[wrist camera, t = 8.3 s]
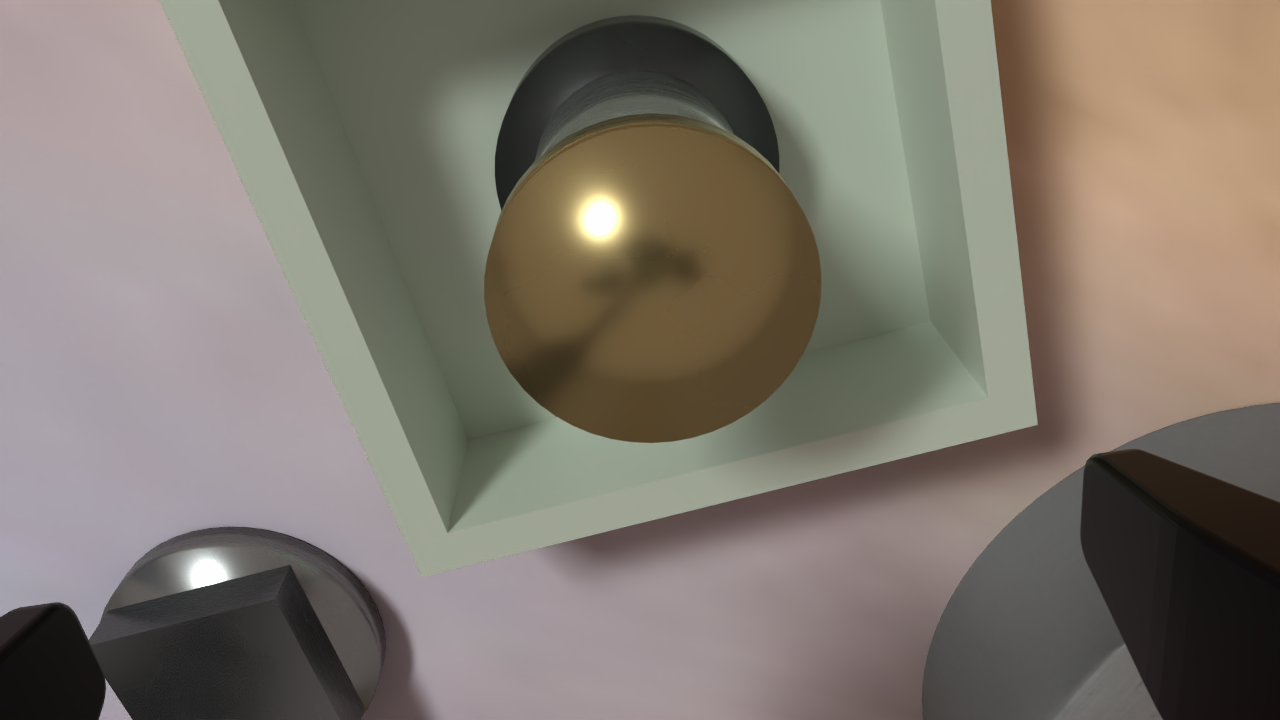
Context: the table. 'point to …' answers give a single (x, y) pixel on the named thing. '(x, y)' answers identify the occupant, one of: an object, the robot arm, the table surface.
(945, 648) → the tape roll
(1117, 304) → the table surface
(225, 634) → the disc with square block
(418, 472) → the bin
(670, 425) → the brass cabinet knob
